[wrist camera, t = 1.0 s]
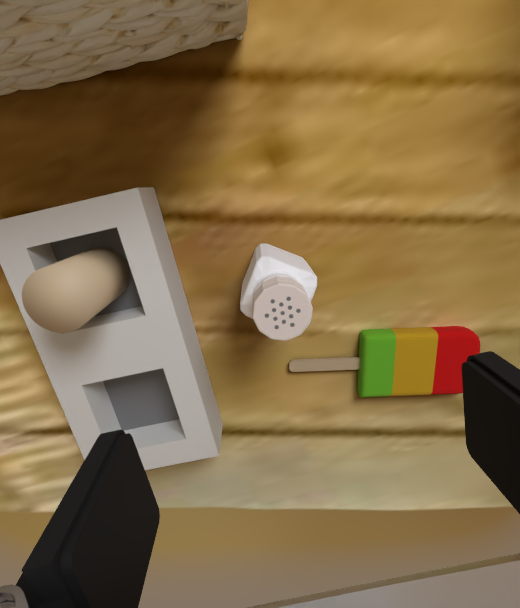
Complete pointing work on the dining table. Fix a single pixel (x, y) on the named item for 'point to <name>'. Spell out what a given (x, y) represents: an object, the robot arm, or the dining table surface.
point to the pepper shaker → (278, 292)
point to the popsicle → (404, 361)
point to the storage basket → (104, 35)
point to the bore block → (114, 324)
